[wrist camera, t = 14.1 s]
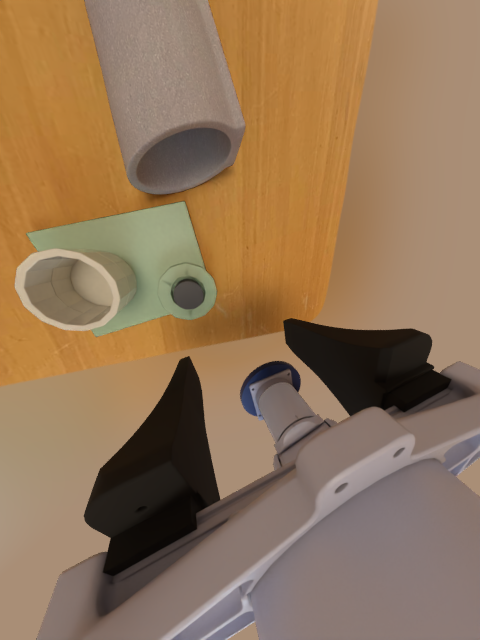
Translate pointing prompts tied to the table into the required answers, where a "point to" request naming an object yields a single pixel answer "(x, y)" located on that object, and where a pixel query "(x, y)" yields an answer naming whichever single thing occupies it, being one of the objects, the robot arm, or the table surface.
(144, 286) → the scale
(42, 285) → the cup
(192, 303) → the button
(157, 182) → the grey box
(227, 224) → the table surface
